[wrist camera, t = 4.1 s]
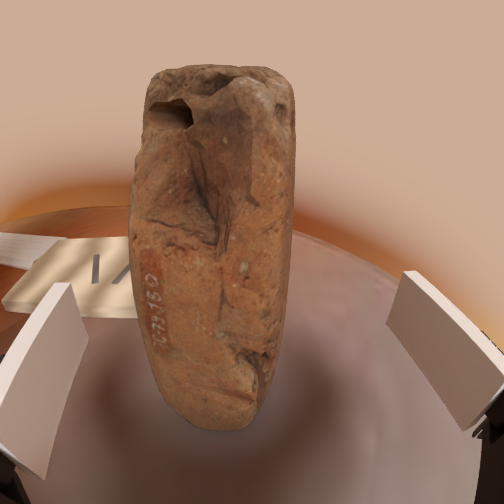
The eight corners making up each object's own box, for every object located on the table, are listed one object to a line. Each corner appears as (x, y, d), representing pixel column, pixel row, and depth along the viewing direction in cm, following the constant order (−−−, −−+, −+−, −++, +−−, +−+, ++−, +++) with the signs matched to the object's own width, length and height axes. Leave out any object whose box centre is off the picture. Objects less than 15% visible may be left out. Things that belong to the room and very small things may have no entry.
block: (199, 328, 25) (193, 89, 17) (281, 341, 24) (304, 90, 16) (152, 423, 16) (89, 65, 7) (264, 449, 15) (307, 42, 6)
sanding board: (5, 311, 23) (1, 300, 23) (60, 248, 39) (58, 239, 39) (239, 315, 28) (239, 303, 27) (226, 242, 44) (226, 233, 43)
